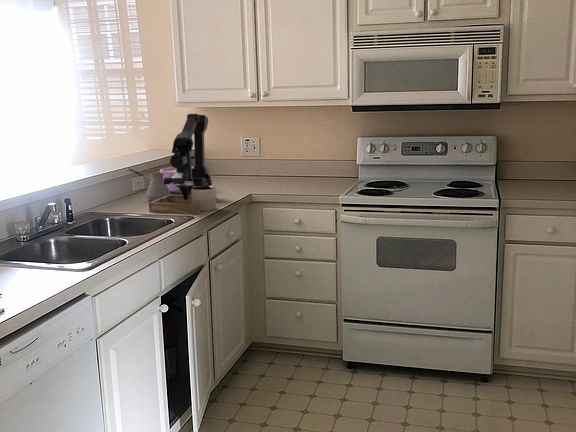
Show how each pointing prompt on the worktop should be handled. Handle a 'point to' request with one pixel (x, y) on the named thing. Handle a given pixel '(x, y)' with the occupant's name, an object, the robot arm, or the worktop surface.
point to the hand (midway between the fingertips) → (185, 200)
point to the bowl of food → (171, 172)
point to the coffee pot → (155, 186)
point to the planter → (204, 197)
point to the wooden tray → (175, 205)
